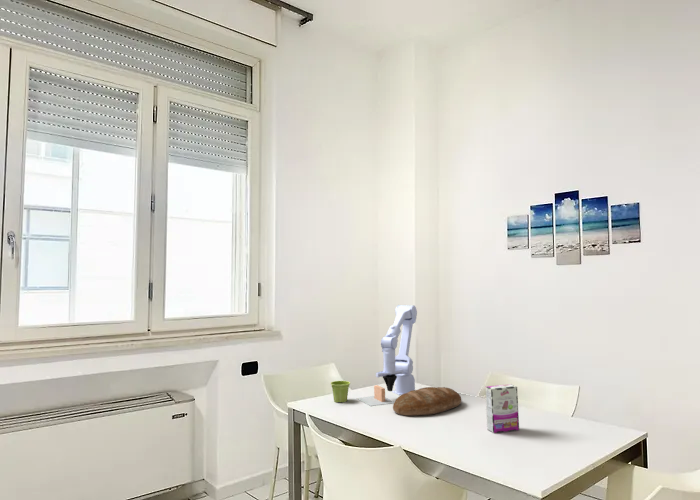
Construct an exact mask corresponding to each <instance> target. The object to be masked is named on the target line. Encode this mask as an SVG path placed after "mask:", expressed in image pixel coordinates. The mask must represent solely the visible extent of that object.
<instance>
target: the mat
mask: <svg viewBox="0 0 700 500" xmlns="http://www.w3.org/2000/svg"><path fill="white" fill-rule="evenodd" d="M356 400H359V401H360V402H362V403H364V404H366V405H367V406H369V407H374V406H375V407H376V406H382V405H383V406H384V405H391V404H392V405H393V404H394V402H395V400H394V401H393V400H392V399H389V398H387V396H385V402H381V401H379V400H377V399H375V398H374V395H372V396H363V397H356Z"/></svg>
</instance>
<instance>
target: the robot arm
mask: <svg viewBox="0 0 700 500" xmlns="http://www.w3.org/2000/svg"><path fill="white" fill-rule="evenodd" d="M417 309H418V308H417V307H416V305H406V304H404V305H401V304H398V305H396V307H395V310H394V311H395V317H394V322H393V324H392V325H389V328H388V330H387V331H386V334H385V336H383V337H382V338H381V340H380V347H381V352H382V353H383V362H382V363H383V370H382V371H378V372H375V377H376V378H380V377H381V378H382V379H383V381H384V382H385V385H386V388H387V389H386V390H387V392H392V393H393V394H395V395H398V396H401V395H402V394H405V393H408V392H410V391H412V390H416V384H415V383H416V382H415V377H414V375H413V374H412V373H413V370H414V366H413V363H414V361H413V359H412V358H411V357H410V356H409V352H410V346H411V338H412V334H413V333H412V332H413V325H414V324H416V322H417V316H418V310H417ZM401 328H402V330H401ZM400 334H401V335H400ZM399 336H401V337H400V343H399V349H398V354H397V355H396V348H398V347H397V346H398V342H399V340H398V338H399ZM393 389H395V390H393Z"/></svg>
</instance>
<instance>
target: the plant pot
mask: <svg viewBox="0 0 700 500" xmlns="http://www.w3.org/2000/svg"><path fill="white" fill-rule="evenodd" d="M330 385H331V388H332V395H333V401H334V402H335V401H336V402H335V403H338V402H340V403H345V402H348V396H349V388H350V385H351V382H350V381H348V380H335V381H334V380H333V381H331V382H330Z"/></svg>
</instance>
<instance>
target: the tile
mask: <svg viewBox="0 0 700 500" xmlns="http://www.w3.org/2000/svg"><path fill="white" fill-rule="evenodd" d="M373 390H374V392H373V396H374V398H375V399H377V400H379V401H381V402H385V397H386V388H385V387H382V386H380V385H376V384H375V385H374V386H373Z"/></svg>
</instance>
